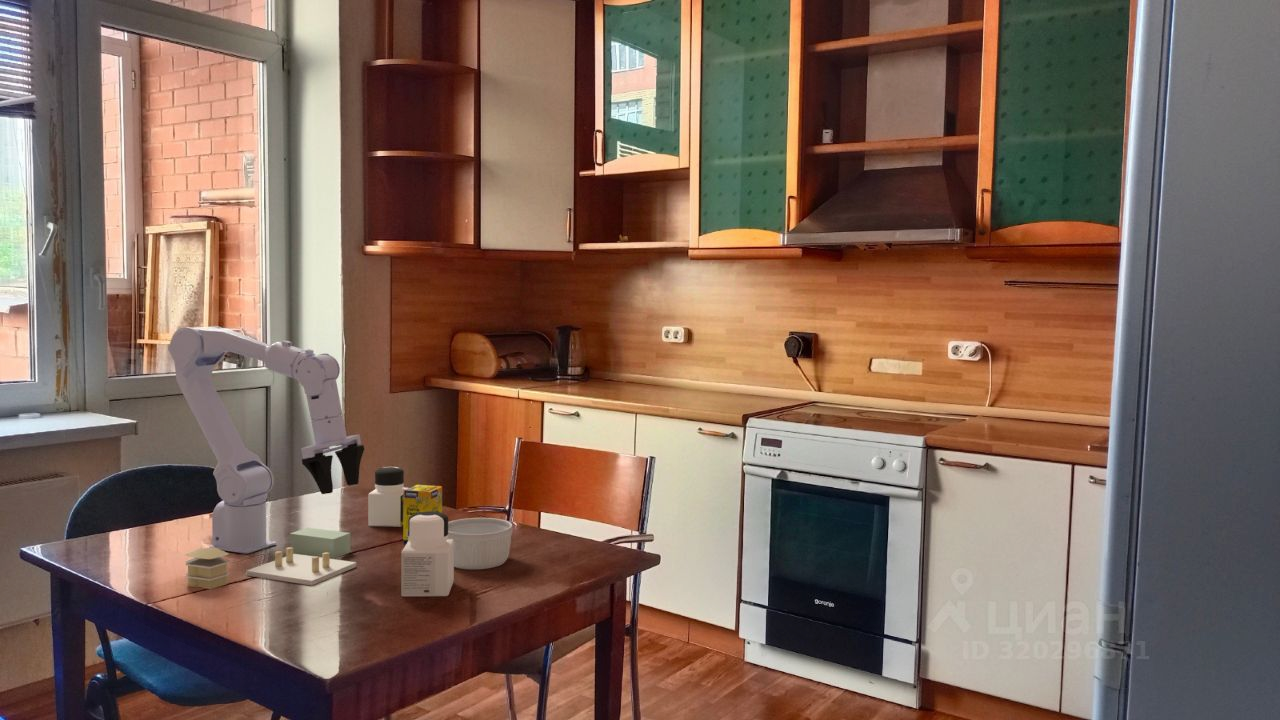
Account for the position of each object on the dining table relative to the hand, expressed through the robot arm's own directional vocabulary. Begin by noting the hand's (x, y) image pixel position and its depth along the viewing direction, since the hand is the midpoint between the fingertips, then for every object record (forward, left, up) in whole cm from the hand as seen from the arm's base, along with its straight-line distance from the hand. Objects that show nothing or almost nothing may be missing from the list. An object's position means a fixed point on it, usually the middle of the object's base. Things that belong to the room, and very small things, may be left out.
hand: (340, 488), depth 175 cm
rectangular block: (-5, 0, -13) cm, 14 cm away
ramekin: (+25, +7, -13) cm, 29 cm away
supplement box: (+8, +15, -13) cm, 22 cm away
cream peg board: (0, -11, -13) cm, 17 cm away
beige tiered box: (-9, -23, -13) cm, 28 cm away
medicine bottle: (-7, +25, -13) cm, 29 cm away
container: (+26, -11, -13) cm, 31 cm away
